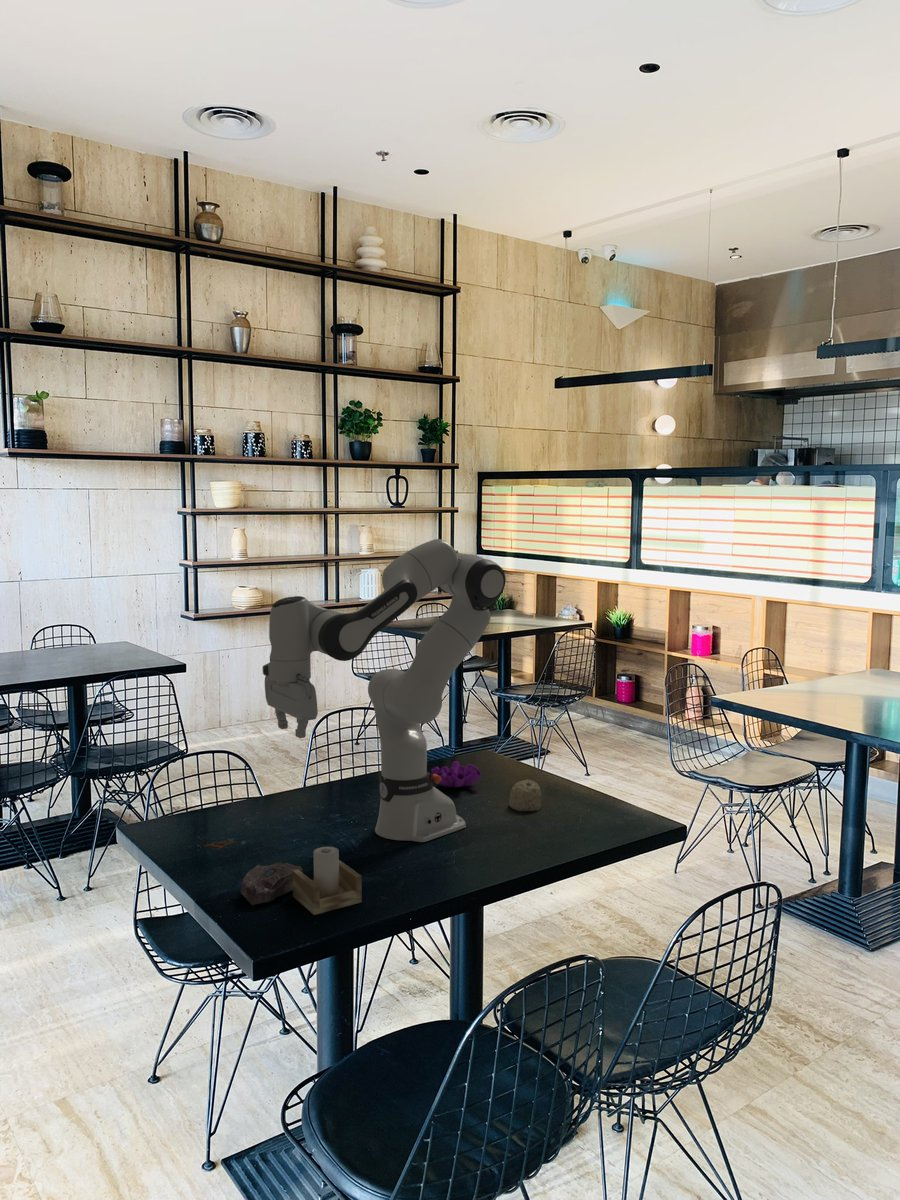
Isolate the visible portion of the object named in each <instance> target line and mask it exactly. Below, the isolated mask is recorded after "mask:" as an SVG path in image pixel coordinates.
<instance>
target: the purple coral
mask: <svg viewBox="0 0 900 1200" xmlns="http://www.w3.org/2000/svg"><path fill="white" fill-rule="evenodd" d="M450 765H451V766H450V767H449V768H448V766H447V765H445V766H443V767H441V768H439V767H438V766H433V767H432V768H431V774H432V775H433V774H437V775H439V776H440V777H441V781H439V782H440V783H439V785H442V786H444V787H448V788H460V787H467V786H471V785H473V784H475V783H477V781H479V780H480V779H481V777H482V772H481V771H480V770H479V769H480V768H479V767H477V766H475V765H474V764H472V763H467V765H466V767H465V766H464V765H460V762H459V761H457V760H455V761H452V762H451V764H450Z"/></svg>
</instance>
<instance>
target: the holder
mask: <svg viewBox="0 0 900 1200" xmlns="http://www.w3.org/2000/svg"><path fill="white" fill-rule="evenodd" d="M292 873H293V890H292V897H293V898H294V899H295V900H296V901H297V902H298V903H300V904H301V905H302V906H303V907H304V908H305V909H306V910H307V911H309V912H310V913H311V914H312V915H313V916H316V915H319V914H320V915H321V914H323V913H326V912H330V911H334V910H338V909H341V908H345V907H349V906H352V905H356V904H360V903H363V901H362V900H363V899H362V898H363V897H362V895H363V894H362V892H363V891H362V875H361V874H359V873H358V872H356V871H355V870H354V869H353V868H351V867H350V866H349V865H347V864H346V863H344V861H341V860H340V859H339V894H338V895H334V896H330V897H326V898H322V899H320V895H319V886H318V885H317V884H316V883H315V882H314V879H311V878H310V877H308V876H307V875H306V874H304V873H302V872H301V871H299V870H298V869H297V870H293V871H292Z"/></svg>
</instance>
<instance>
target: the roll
mask: <svg viewBox="0 0 900 1200" xmlns="http://www.w3.org/2000/svg"><path fill="white" fill-rule="evenodd" d="M339 851H340V850H339V849H338V848H337V847H334V846H322V847H317V848H315V849H314V850H313V880H314V882H315V883H316V884H317V885H318V886H319V895H320V899H322V898H326V897H330V896H334V895H338V894H339V860H340V859H339V858H340V854H339Z"/></svg>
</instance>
